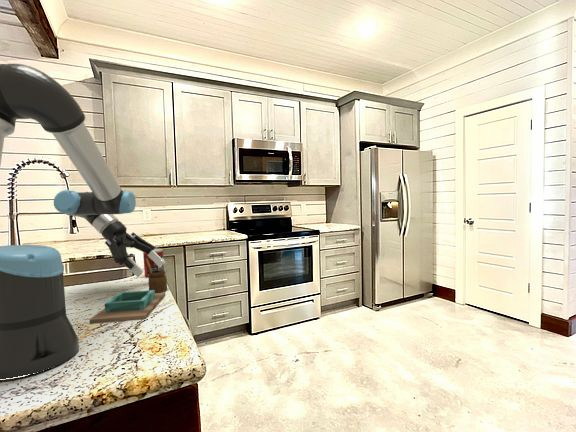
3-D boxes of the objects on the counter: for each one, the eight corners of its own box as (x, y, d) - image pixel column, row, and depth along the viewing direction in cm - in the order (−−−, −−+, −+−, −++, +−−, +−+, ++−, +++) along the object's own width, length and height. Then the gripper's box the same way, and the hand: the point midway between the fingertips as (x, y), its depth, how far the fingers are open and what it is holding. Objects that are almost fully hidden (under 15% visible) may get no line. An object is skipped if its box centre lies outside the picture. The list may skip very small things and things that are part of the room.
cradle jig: (145, 318, 83) (144, 306, 83) (89, 323, 81) (88, 310, 81) (165, 295, 103) (164, 285, 102) (120, 298, 101) (120, 288, 101)
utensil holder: (170, 290, 108) (168, 257, 107) (151, 295, 104) (149, 260, 103) (163, 287, 112) (161, 255, 112) (145, 291, 108) (143, 257, 107)
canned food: (147, 279, 125) (145, 252, 125) (142, 275, 132) (141, 250, 131) (166, 275, 130) (165, 250, 129) (161, 272, 136) (160, 247, 136)
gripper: (126, 230, 123) (163, 268, 122) (76, 240, 98) (122, 286, 97) (138, 217, 122) (175, 254, 121) (90, 223, 97) (137, 270, 96)
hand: (152, 269), depth 109 cm, fingers open, 13 cm apart
